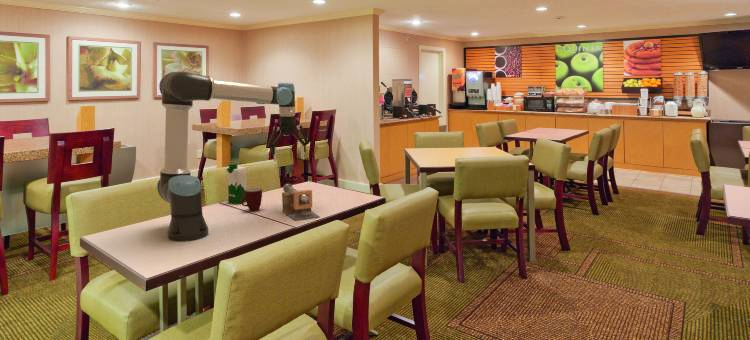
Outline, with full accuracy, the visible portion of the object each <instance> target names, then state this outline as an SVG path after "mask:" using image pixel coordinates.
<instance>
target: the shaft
mask: <svg viewBox="0 0 750 340" xmlns="http://www.w3.org/2000/svg"><path fill="white" fill-rule="evenodd" d="M282 190H283V192H292V193H293V191H299V190H297V189H296V188H294V186H293V185H292V184H291V183H285V184H284V185H283V188H282ZM299 199H300V200H302V201H303V202H308V201H309V197H308V196H306V195H299Z"/></svg>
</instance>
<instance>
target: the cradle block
mask: <svg viewBox="0 0 750 340" xmlns="http://www.w3.org/2000/svg"><path fill="white" fill-rule="evenodd" d="M299 191H301V190H300V189H299ZM305 195H306V196H307V194H305ZM281 202H282V203H281V204H282V213H283V214H285V215H286V216H287V214H292V213H300V212H307V211H312V208H305V209H297V210H295V209H294V195H293V193H292V192H284V191H283V192H281ZM300 204H307V202H303V201H302V200H300V199H299V205H300Z"/></svg>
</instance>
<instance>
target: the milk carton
mask: <svg viewBox="0 0 750 340" xmlns="http://www.w3.org/2000/svg"><path fill="white" fill-rule="evenodd" d="M247 172H248V167H245V166H240V165H239V166H238V163H230V164H228V167H226V168H225V173H226V177H227V188H228V189H227V190H228V198H227V199H228V200H227V203H229V204H234V205H240V204H241V199H242V197H244V196H245V189H248V187H247V186H248V185H247ZM245 203H246V199H244V200H243V204H245ZM241 205H242V204H241Z"/></svg>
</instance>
